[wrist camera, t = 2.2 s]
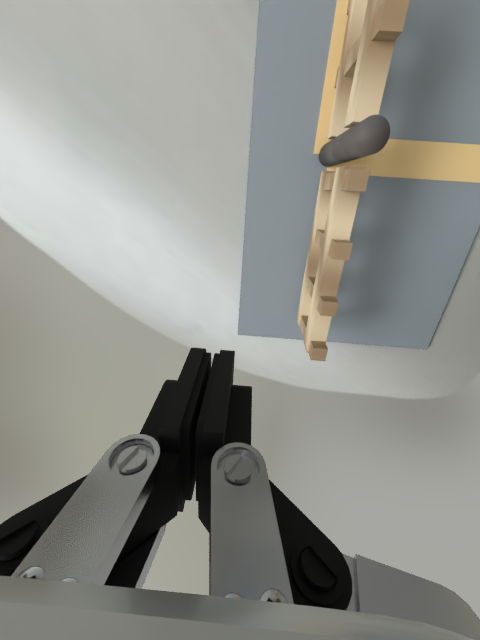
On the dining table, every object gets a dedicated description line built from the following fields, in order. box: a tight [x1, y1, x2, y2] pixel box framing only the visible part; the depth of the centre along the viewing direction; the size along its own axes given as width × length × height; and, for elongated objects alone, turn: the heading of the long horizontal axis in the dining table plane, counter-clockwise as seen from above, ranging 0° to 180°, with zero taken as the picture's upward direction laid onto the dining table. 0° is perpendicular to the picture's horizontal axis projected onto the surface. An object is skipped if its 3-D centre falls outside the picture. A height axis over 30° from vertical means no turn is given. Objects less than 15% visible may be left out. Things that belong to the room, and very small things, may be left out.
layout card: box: [238, 0, 480, 349], centre depth 22 cm, size 26×20×1 cm
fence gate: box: [297, 166, 370, 361], centre depth 20 cm, size 12×1×7 cm, turn 177°
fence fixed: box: [319, 0, 410, 167], centre depth 15 cm, size 9×2×9 cm, turn 177°
